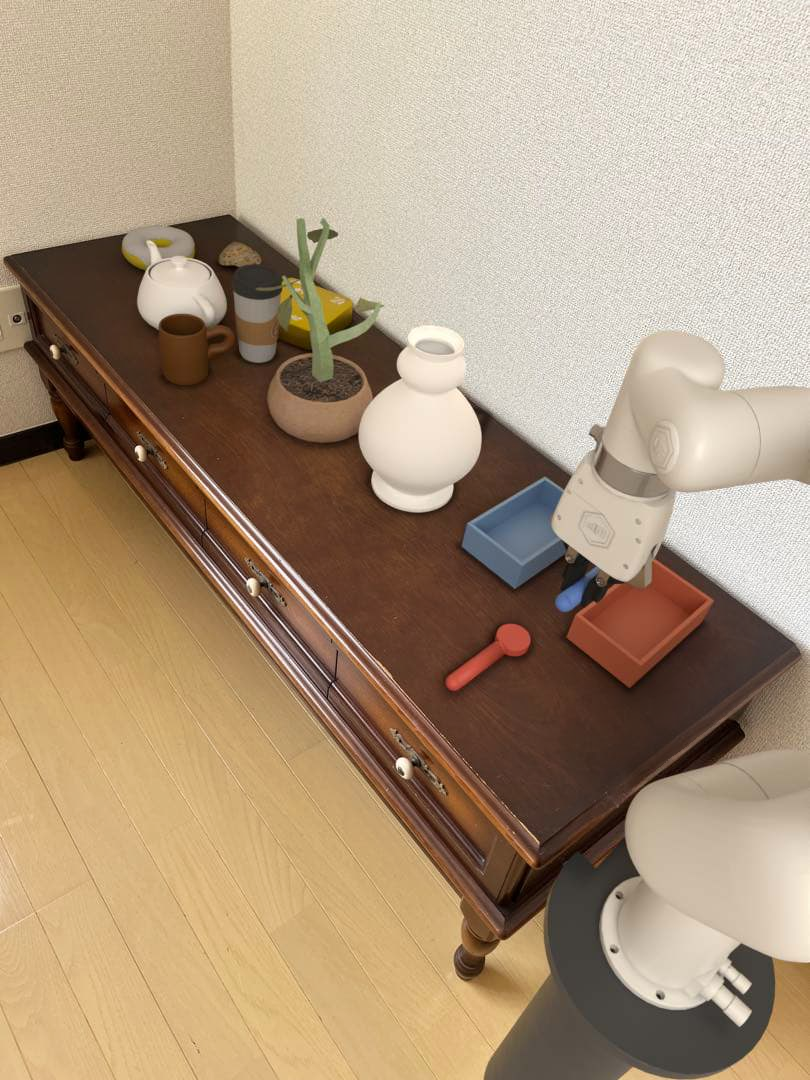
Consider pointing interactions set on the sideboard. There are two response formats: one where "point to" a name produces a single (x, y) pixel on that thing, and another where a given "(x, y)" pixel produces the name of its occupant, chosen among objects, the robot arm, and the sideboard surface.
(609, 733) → the sideboard surface
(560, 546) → the blue bin
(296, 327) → the element tile
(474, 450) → the decorative vase
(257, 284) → the coffee cup
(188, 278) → the teapot
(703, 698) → the sideboard surface
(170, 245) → the donut
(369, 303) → the potted plant
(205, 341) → the mug
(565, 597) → the blue spoon
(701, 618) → the red bin
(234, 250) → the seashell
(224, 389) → the sideboard surface
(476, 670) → the red spoon
